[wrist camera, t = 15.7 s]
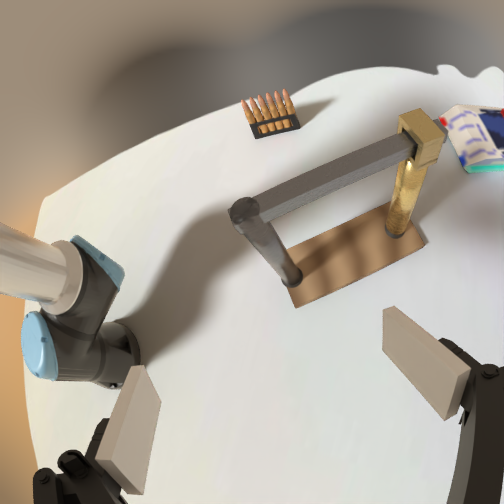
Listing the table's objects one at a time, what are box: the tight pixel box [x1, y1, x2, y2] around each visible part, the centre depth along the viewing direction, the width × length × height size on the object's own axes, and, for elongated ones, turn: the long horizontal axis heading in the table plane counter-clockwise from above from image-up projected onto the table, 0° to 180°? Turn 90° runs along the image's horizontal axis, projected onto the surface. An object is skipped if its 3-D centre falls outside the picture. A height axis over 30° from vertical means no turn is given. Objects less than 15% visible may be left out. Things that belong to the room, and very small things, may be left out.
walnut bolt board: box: [281, 201, 425, 308], centre depth 48 cm, size 25×10×2 cm, turn 110°
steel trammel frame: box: [228, 119, 449, 285], centre depth 37 cm, size 25×3×24 cm, turn 110°
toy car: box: [439, 105, 504, 173], centre depth 41 cm, size 17×30×9 cm, turn 92°
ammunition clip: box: [241, 89, 300, 139], centre depth 58 cm, size 11×2×12 cm, turn 94°
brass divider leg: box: [386, 108, 445, 235], centre depth 35 cm, size 4×4×25 cm
